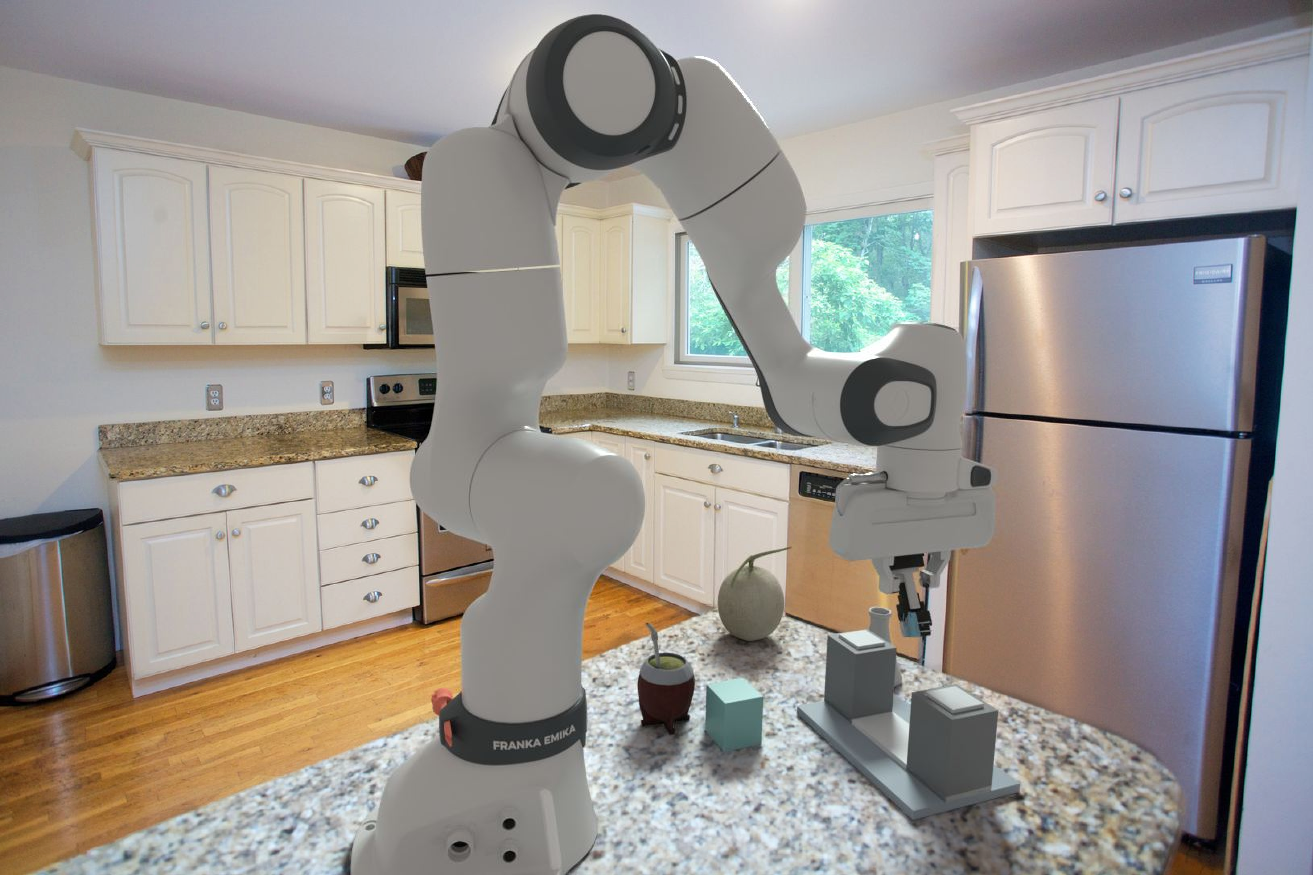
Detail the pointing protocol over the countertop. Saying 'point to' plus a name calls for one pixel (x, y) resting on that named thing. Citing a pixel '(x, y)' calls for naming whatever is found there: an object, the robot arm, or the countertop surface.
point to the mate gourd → (665, 688)
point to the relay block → (734, 714)
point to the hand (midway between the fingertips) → (909, 589)
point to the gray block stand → (906, 731)
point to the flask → (883, 631)
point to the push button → (910, 597)
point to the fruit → (751, 600)
